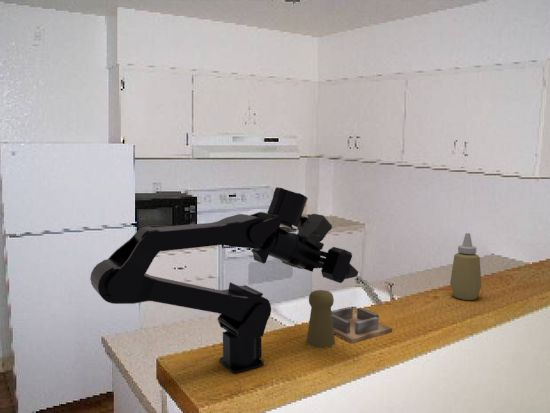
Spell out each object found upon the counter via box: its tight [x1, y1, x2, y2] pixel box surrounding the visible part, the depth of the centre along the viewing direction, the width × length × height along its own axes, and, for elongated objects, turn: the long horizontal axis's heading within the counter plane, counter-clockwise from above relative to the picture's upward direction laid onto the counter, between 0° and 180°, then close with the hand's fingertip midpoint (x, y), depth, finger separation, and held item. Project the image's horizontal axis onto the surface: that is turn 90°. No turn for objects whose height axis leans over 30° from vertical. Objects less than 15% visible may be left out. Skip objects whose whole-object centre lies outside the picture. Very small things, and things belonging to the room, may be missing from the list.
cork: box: [306, 289, 336, 349], centre depth 97 cm, size 6×6×11 cm
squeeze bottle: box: [449, 232, 483, 301], centre depth 127 cm, size 8×8×18 cm
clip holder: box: [331, 306, 393, 344], centre depth 105 cm, size 12×12×3 cm
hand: (342, 269), depth 99 cm, fingers open, 9 cm apart
